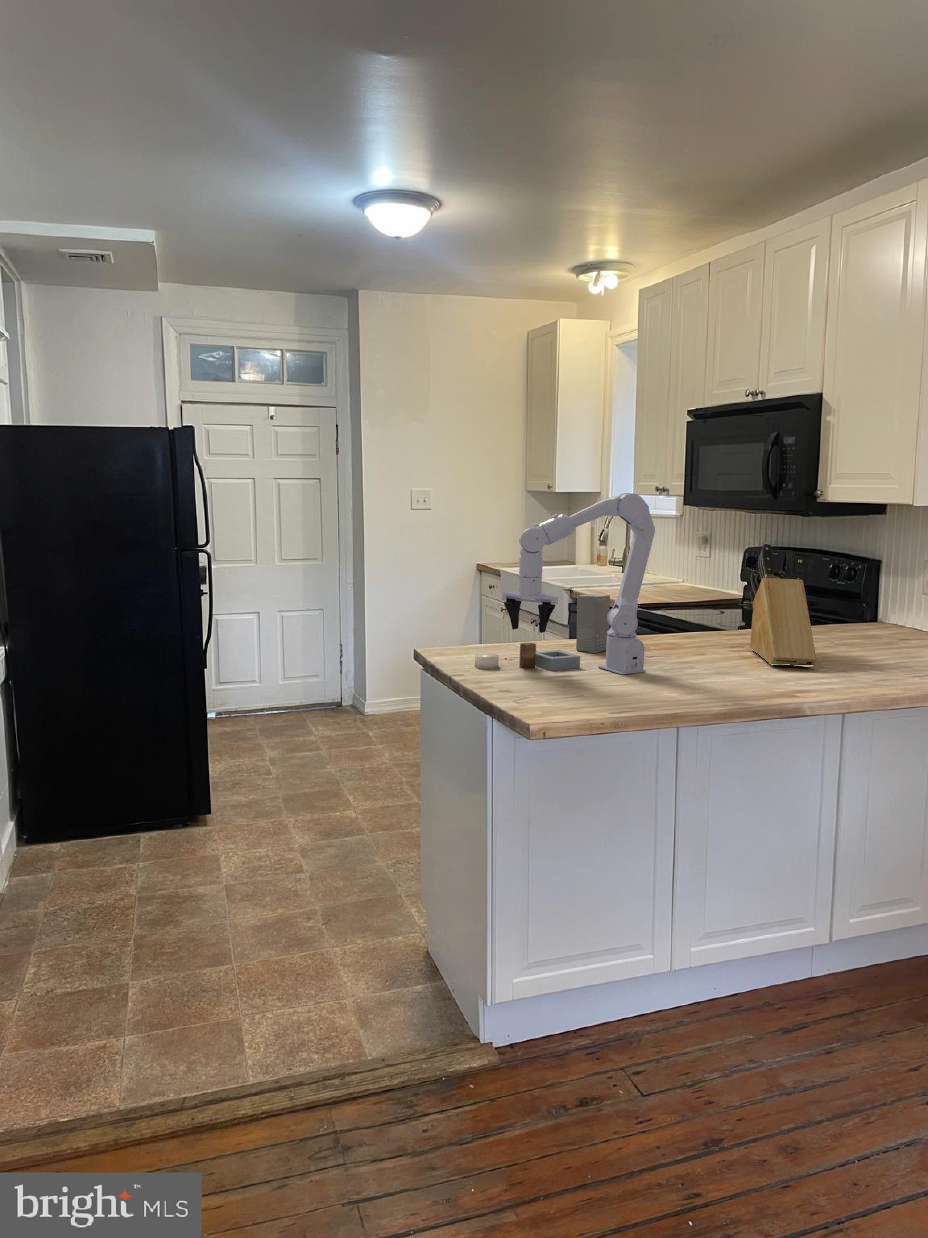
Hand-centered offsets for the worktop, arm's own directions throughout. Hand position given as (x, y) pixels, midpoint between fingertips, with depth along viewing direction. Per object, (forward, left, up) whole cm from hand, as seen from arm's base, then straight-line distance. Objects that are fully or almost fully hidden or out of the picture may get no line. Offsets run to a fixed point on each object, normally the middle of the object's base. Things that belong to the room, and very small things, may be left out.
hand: (528, 630), depth 225 cm
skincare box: (+12, -30, -10) cm, 34 cm away
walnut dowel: (0, 0, -9) cm, 9 cm away
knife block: (-17, -72, -10) cm, 74 cm away
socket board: (-2, -8, -9) cm, 12 cm away
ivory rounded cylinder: (+5, +9, -10) cm, 14 cm away
